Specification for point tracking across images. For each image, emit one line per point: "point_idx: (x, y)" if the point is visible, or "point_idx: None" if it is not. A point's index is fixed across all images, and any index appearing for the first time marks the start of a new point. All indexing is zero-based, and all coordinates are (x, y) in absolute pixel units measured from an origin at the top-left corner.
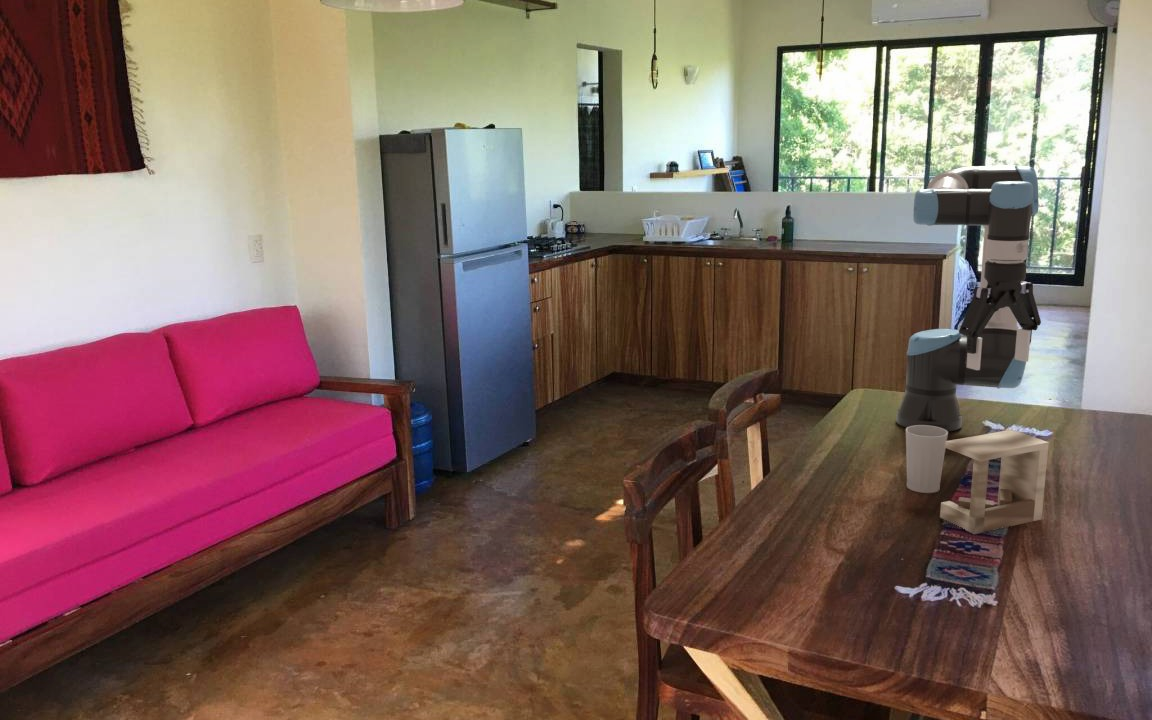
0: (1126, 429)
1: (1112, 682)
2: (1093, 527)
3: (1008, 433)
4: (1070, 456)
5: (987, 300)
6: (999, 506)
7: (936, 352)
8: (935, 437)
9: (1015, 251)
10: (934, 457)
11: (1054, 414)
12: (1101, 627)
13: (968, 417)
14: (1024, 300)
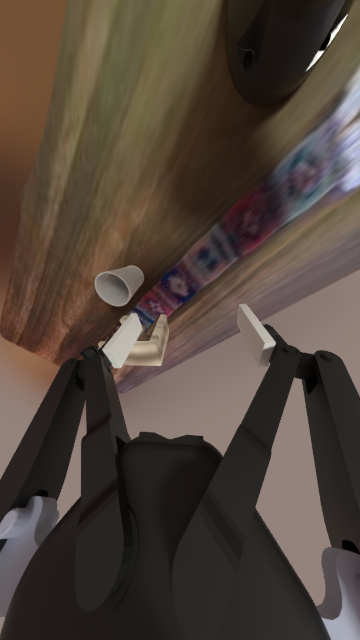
0: None
1: (122, 389)
2: (184, 345)
3: (147, 348)
4: (284, 262)
5: (97, 469)
6: (141, 338)
7: None
8: (114, 305)
9: None
10: (123, 296)
11: None
12: (134, 379)
13: None
14: (332, 471)
